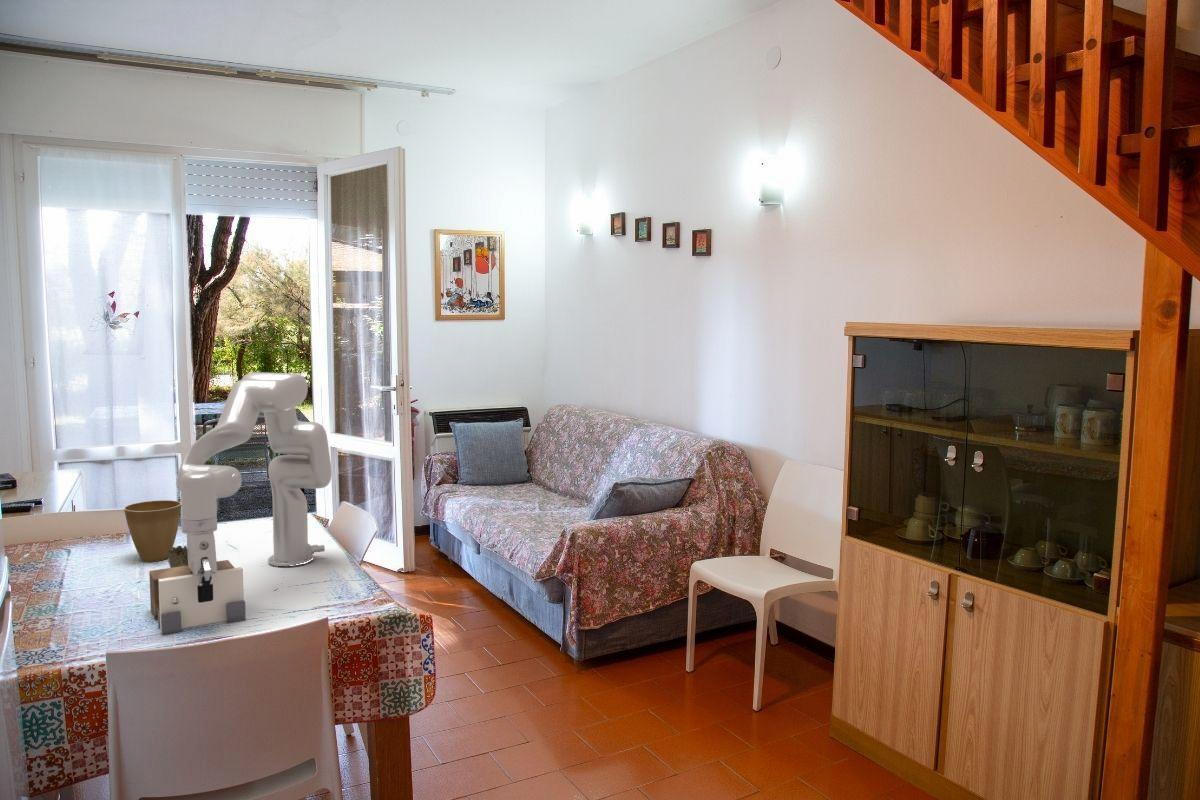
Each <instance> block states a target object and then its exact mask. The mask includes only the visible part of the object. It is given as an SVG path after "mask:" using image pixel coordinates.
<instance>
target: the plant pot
mask: <svg viewBox="0 0 1200 800" xmlns="http://www.w3.org/2000/svg"><path fill="white" fill-rule="evenodd" d="M123 510H124V515H125V519H126V523H127V527H128V530H129V534H130V537H131V540H132V542H133V545H134V547H135V550H136V551H137V554H138V556H139V558H140V560H141V561H142V562H148V563H151V562H160V561H161V562H162V561H164V560H167V559H168V553H167V551H168V549H169V550H170V551H172V548H173V547H174V545H175V542H176V537H177V533H178V528H179V524H180V519H181V501H178V500H168V499H166V500H165V499H164V500H163V499H160V500H149V501H141V502H136V503H135V502H134V503H132V504H128V505H126V506H124V508H123Z"/></svg>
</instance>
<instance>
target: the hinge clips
mask: <svg viewBox="0 0 1200 800" xmlns="http://www.w3.org/2000/svg"><path fill="white" fill-rule="evenodd" d="M226 615H227V620H226V623H227V624H230V623H236V622H241V621H246V620H247V619H246V601H245V599H244V600H243V601H237V602H231V603H226ZM157 627H158V629H160V609H159V608H158V620H157ZM160 632H161V633H160V634H161V635H162V636H163V635H164V636H165V635H169V634H170V635H171V634H173V633H180V632H182V628H181V612H180V611H177V612H171V613H165V614H161V630H160Z"/></svg>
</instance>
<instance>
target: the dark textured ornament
mask: <svg viewBox="0 0 1200 800" xmlns="http://www.w3.org/2000/svg"><path fill="white" fill-rule="evenodd" d="M167 553H168V558H167V559H168V564H169V568H173V567H181V566H188V555H187V545H183V547H182V546H181V545H178V546H176V547H175V546H173V548H172V551H170V550H169V549H168V551H167Z"/></svg>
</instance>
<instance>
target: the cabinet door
mask: <svg viewBox="0 0 1200 800" xmlns="http://www.w3.org/2000/svg"><path fill="white" fill-rule="evenodd" d="M211 576H212V583H213V600H212V601H208V602H202V603H199V602H198V588H197V586H198V585H199V582H198V576H196V575H194V574H191V575H184V576H177V577H170V578H163V579H158V581H159V609H160V628H159V629H160V631H161V614H165V613H171V612H177V611H180V612H181V629H185V628H191V627H197V626H203V625H207V624H208V625H209V624H213V623H214V624H215V623H218V622H219V623H220V622H227V615H226V603H231V602H237V601H243V600H244V601H245V599H244V598H245V597H244V593H245V592H244V591H245V589H244V588H245V587H244V568H243V567H242V566H241V567H234V568H232V569H225V570H218V571H217V572H216V573H212V572H211ZM202 577H203V576H201V580H202Z"/></svg>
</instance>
